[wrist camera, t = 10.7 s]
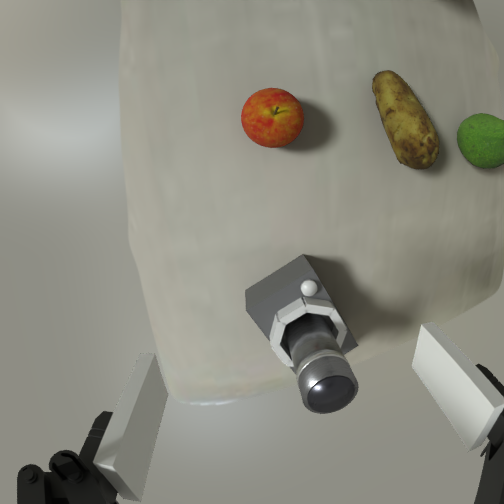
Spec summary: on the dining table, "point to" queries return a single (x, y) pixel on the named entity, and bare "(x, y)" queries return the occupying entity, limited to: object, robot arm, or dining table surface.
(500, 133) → the fruit
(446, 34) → the dining table surface
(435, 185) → the dining table surface
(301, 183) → the dining table surface
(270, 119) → the fruit
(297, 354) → the lens
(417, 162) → the potato
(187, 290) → the dining table surface
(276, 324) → the grey block
